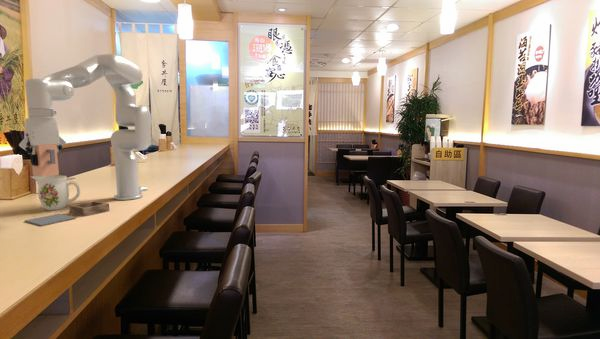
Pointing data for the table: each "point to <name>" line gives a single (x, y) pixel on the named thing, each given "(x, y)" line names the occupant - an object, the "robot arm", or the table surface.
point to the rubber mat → (50, 219)
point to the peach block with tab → (46, 161)
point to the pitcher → (54, 191)
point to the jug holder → (89, 208)
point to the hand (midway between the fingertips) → (45, 164)
